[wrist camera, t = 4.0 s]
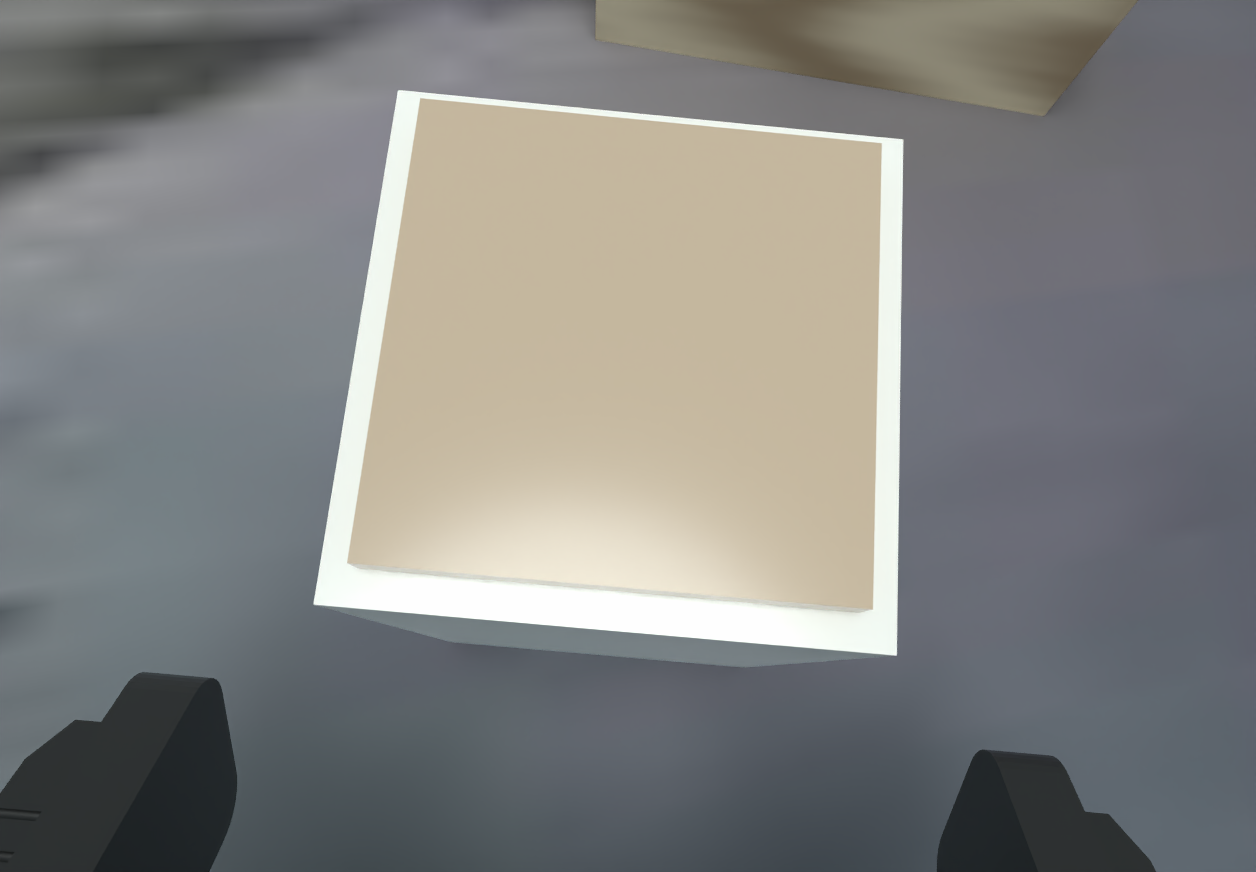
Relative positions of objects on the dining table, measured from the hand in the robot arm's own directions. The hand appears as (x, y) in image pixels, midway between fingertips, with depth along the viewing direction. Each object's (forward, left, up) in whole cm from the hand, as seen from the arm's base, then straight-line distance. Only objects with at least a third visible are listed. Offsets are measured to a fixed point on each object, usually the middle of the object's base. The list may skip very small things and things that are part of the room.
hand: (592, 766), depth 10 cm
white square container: (-3, +4, -9) cm, 10 cm away
